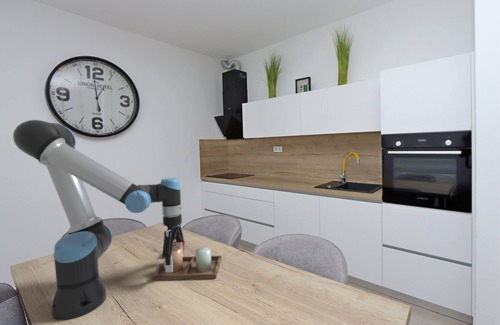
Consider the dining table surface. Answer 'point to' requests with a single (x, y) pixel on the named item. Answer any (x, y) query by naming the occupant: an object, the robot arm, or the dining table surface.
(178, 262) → the pink cylinder
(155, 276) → the wooden divided tray
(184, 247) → the flower
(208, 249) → the pale green rounded cylinder
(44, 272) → the dining table surface
